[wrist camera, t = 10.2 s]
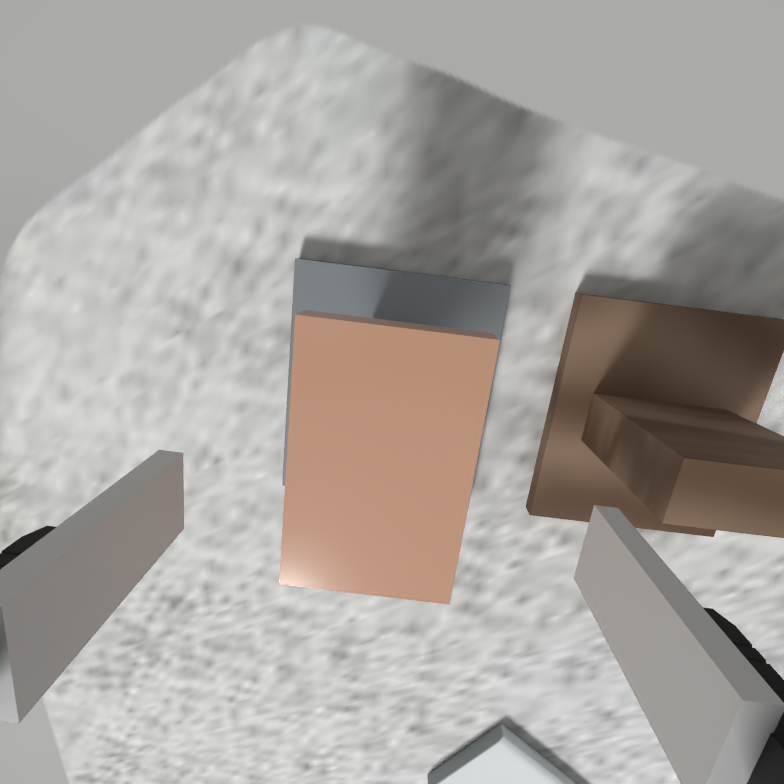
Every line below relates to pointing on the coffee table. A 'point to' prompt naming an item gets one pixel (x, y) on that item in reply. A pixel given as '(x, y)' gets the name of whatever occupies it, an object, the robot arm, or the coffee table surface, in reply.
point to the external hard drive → (498, 763)
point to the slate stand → (395, 301)
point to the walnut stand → (663, 420)
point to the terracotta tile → (381, 453)
